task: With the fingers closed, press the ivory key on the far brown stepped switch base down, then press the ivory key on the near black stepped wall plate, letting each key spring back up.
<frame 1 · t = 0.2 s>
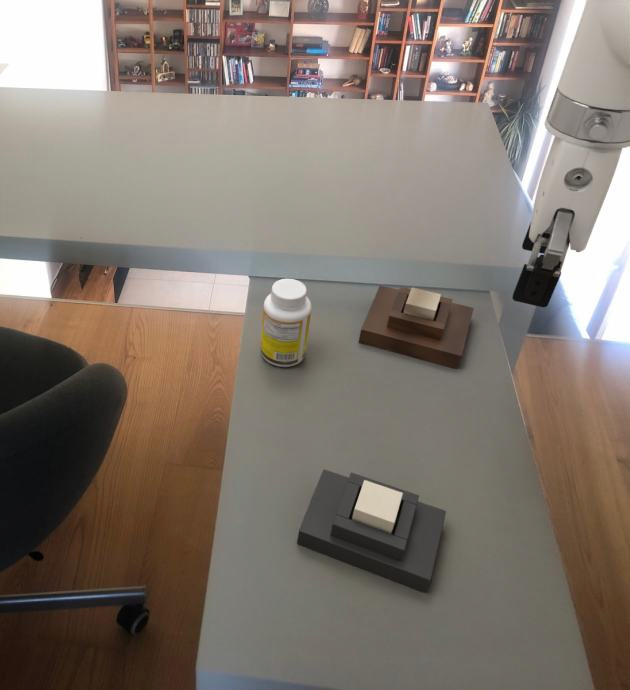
hand: (533, 275, 71), 16 cm above the table, tool pointing down, fingers open, 9 cm apart
far key: (422, 304, 86), point 4 cm above the table, slide at 0.1 cm
near key: (377, 506, 64), point 4 cm above the table, slide at 0.1 cm
stepped wall plate: (369, 533, 67), on the table
supplement bottle: (282, 355, 86), on the table
brown stepped switch base: (414, 331, 89), on the table
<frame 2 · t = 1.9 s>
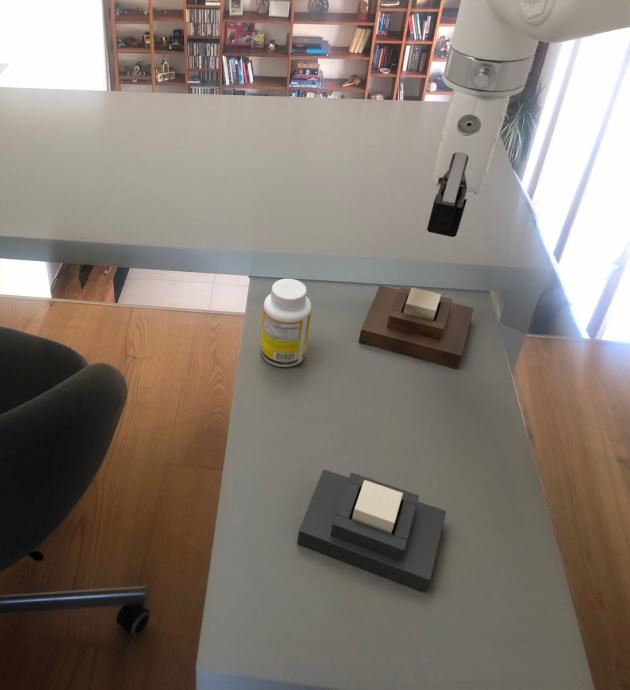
hand: (442, 230, 79), 15 cm above the table, tool pointing down, fingers closed
nothing on the table moved.
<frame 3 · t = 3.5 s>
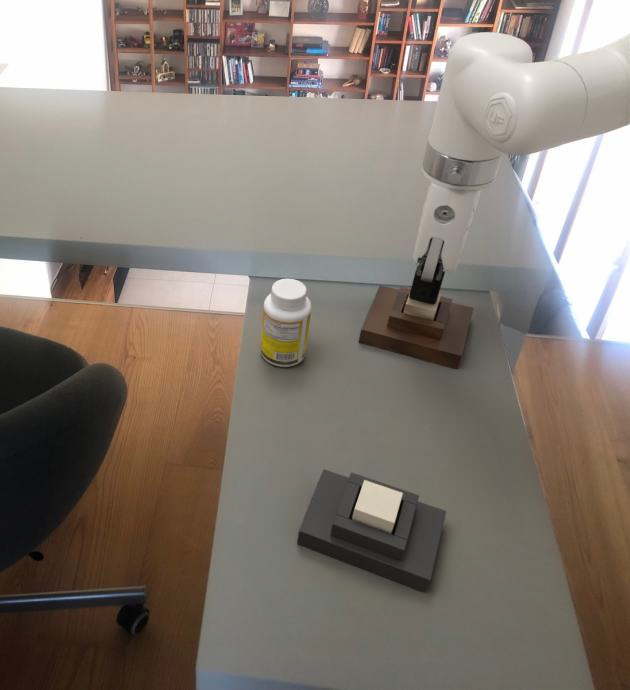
hand: (423, 298, 85), 5 cm above the table, tool pointing down, fingers closed
far key: (422, 304, 86), point 4 cm above the table, slide at 0.0 cm, touching gripper
everything else where it was.
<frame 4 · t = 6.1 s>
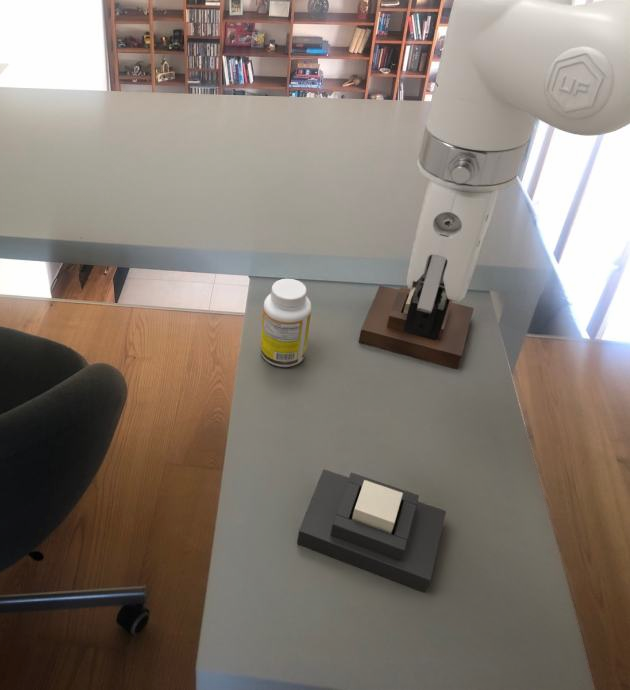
hand: (421, 331, 66), 15 cm above the table, tool pointing down, fingers closed
far key: (422, 304, 86), point 4 cm above the table, slide at 0.1 cm
everything else where it was.
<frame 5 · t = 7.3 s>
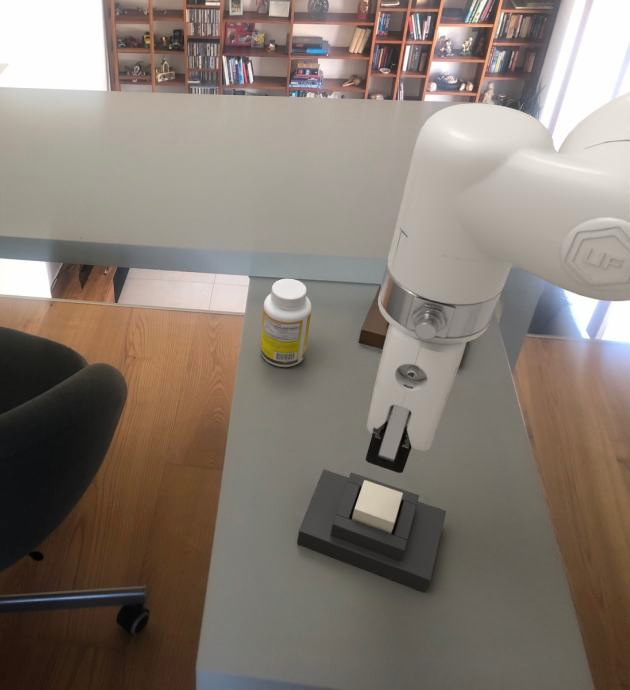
hand: (385, 460, 60), 11 cm above the table, tool pointing down, fingers closed
nothing on the table moved.
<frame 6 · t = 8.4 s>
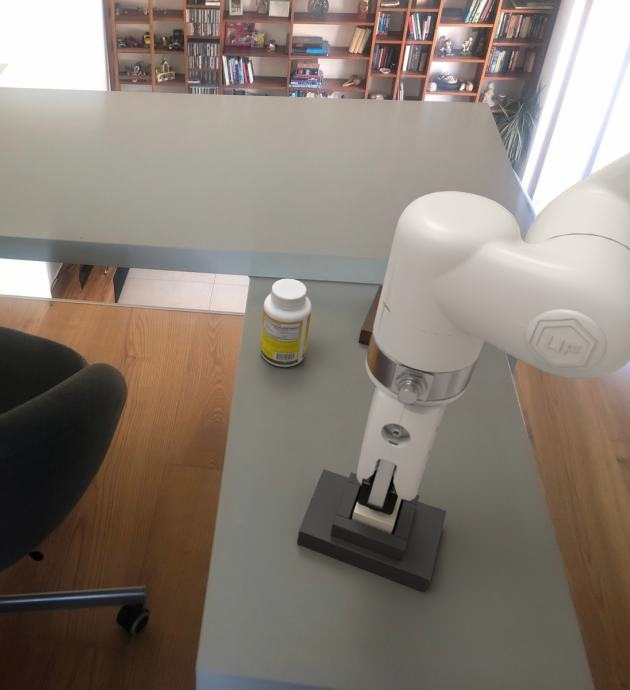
hand: (376, 502, 64), 5 cm above the table, tool pointing down, fingers closed
near key: (376, 509, 64), point 4 cm above the table, slide at -0.4 cm, touching gripper
everything else where it was.
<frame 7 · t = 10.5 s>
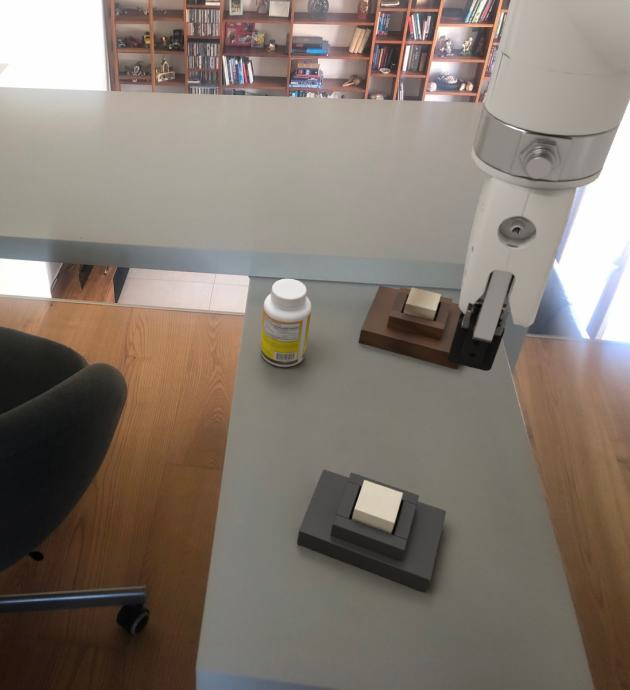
hand: (469, 359, 55), 21 cm above the table, tool pointing down, fingers closed
near key: (377, 506, 64), point 4 cm above the table, slide at 0.1 cm
everything else where it was.
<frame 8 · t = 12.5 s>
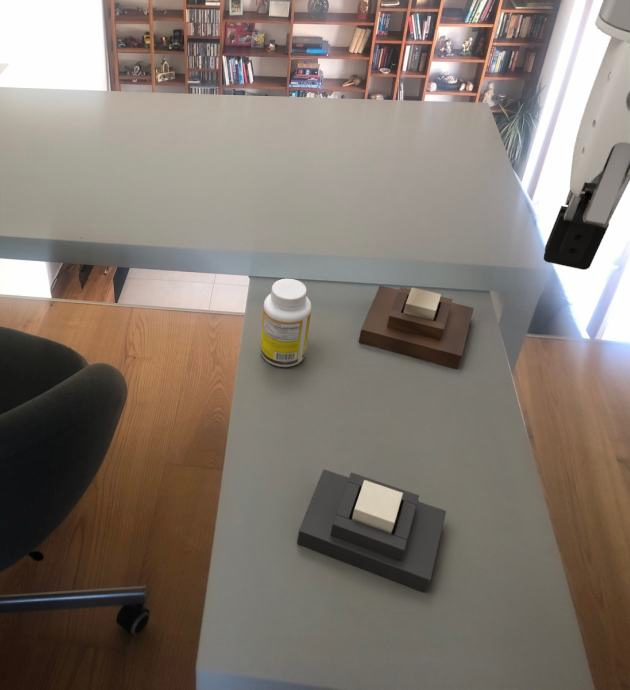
hand: (565, 259, 53), 27 cm above the table, tool pointing down, fingers closed
nothing on the table moved.
at the end: far key pushed in 1.1 cm at the most during the clip, back to where it started at the end; near key pushed in 1.1 cm at the most during the clip, back to where it started at the end; near key slide at 0.1 cm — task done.
